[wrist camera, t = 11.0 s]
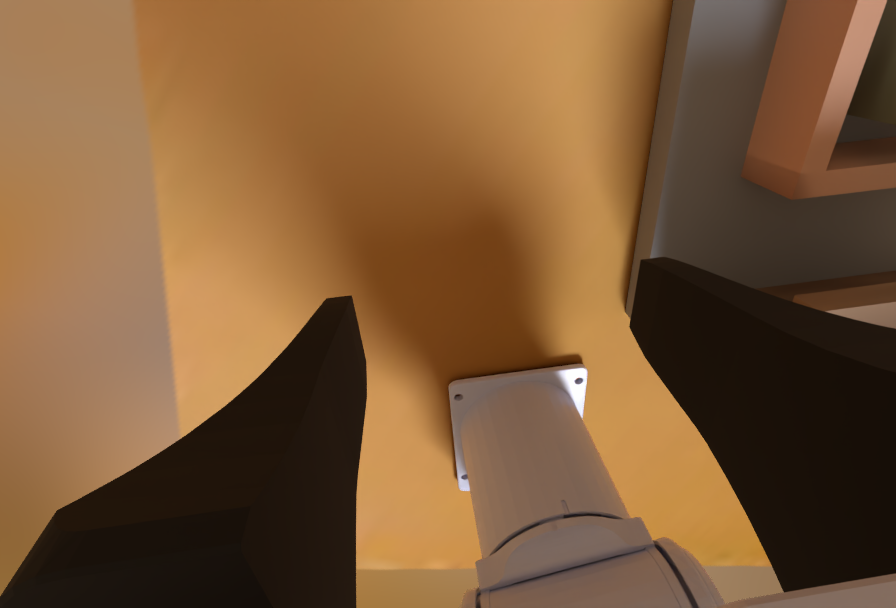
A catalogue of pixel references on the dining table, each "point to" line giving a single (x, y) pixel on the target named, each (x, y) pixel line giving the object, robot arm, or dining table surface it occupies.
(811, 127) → the socket stand
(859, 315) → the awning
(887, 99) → the peg
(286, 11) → the dining table surface
